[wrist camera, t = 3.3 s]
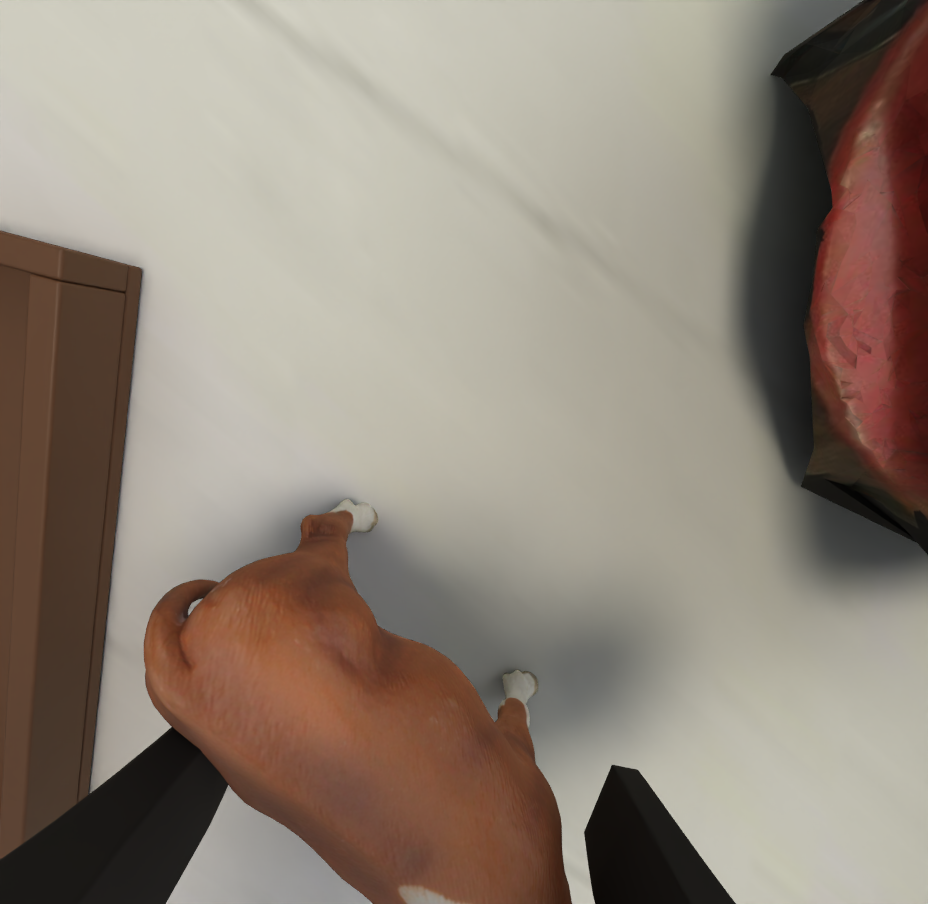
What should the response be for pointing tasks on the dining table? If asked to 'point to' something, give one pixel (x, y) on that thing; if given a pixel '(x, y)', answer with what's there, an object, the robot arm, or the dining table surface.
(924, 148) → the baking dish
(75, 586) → the walnut tray
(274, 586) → the bull figurine
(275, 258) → the dining table surface
